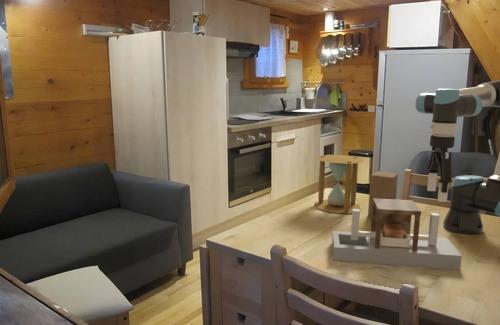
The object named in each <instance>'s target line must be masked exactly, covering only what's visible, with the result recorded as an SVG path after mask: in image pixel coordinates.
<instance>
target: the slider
mask: <svg viewBox="0 0 500 325" xmlns="http://www.w3.org/2000/svg"><path fill="white" fill-rule="evenodd" d="M351 214H352V215H351V227H350V228H351V229H350V232H351V240H358V236H359V237H375V235H376V232H371V230H368V231H367V230H359V228H360V214H361V209H360V210H359V209H352V213H351ZM428 224H429V226H428V234H420V233H419V236H418V240H422V241H428V243H429V245H437V237H438V236H439V235H438V233H439V226H440V214H439V213H437V212H436V213H435V212H434V213H433V212H430V214H429V223H428ZM410 240H413V233H410V234H407V233H406V231H405V230H404V238H391V237H383V228H381V234H380V245H381V246H392V247H407V248H409V247H410Z"/></svg>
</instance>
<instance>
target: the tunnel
mask: <svg viewBox="0 0 500 325" xmlns="http://www.w3.org/2000/svg"><path fill="white" fill-rule="evenodd" d="M421 214H422V211H421V209H420V208H419V207H418V205H417V204H416V203H415V202H414V200H413V199H397V198H396V199H376V198H373V204H372V217H371V220H370V221H371V222H370V231H371V232H376V235H375V248H377V249H379V248H380V234H381V228H383V229H384V224H401V225H402V227H403V229H404V230H405V231H406V233H407V234H411V227H412V226H411V225H412V216H414V223H413V230H412V231H413V233H412V234H413V243H412V251H417V246H418V236H419V234H420V225H421V216H422V215H421Z"/></svg>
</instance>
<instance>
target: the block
mask: <svg viewBox="0 0 500 325" xmlns="http://www.w3.org/2000/svg"><path fill="white" fill-rule="evenodd" d="M383 237H391V238H404V229H403V227H402V225H401V224H384V229H383Z"/></svg>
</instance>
